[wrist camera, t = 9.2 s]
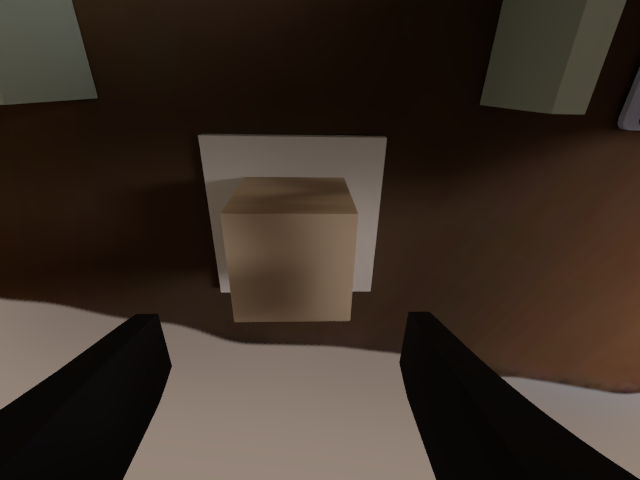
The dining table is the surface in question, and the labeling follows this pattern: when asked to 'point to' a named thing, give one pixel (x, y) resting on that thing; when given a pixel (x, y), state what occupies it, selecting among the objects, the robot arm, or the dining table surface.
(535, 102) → the green u-shaped wall
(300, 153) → the coaster
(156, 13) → the dining table surface
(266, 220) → the oak block
